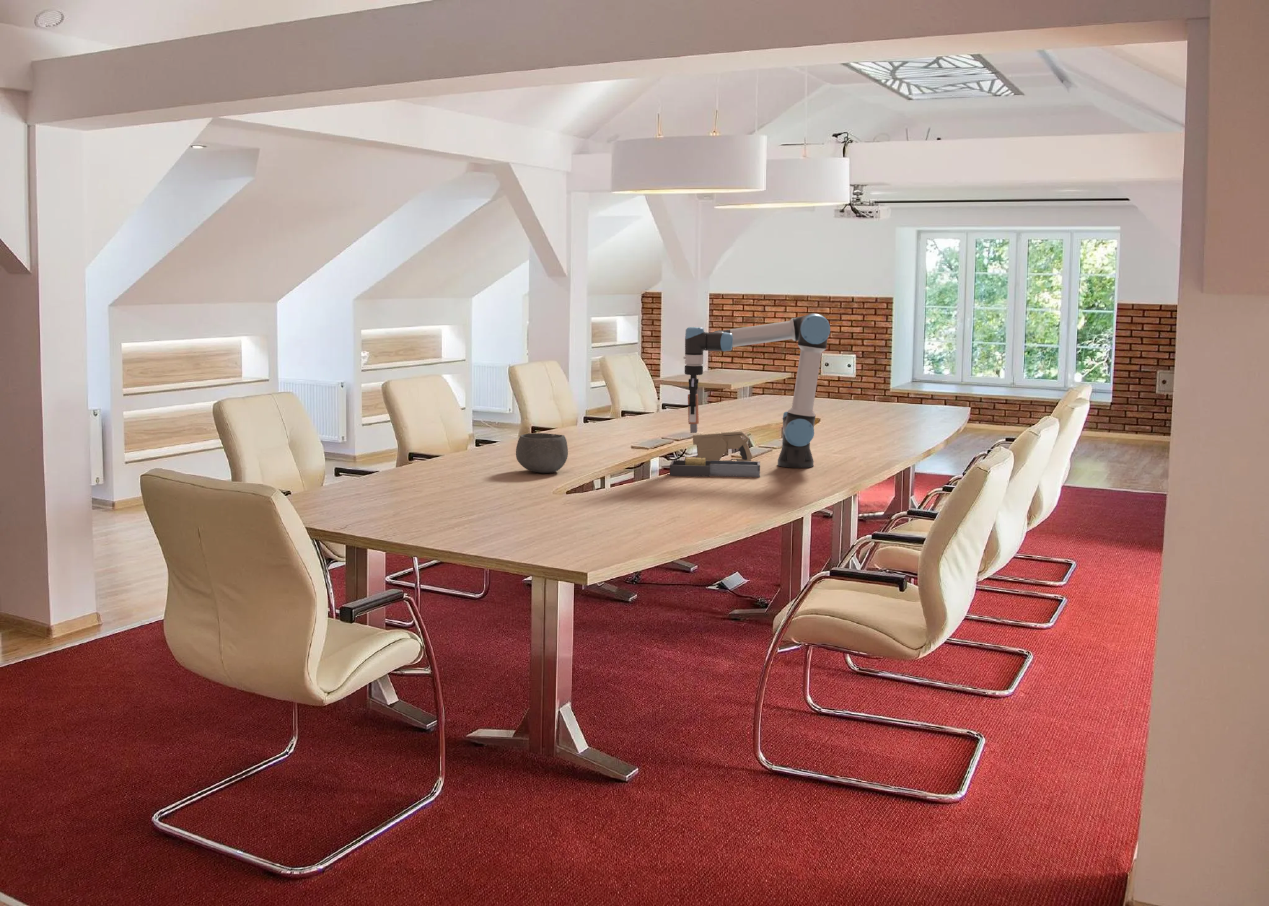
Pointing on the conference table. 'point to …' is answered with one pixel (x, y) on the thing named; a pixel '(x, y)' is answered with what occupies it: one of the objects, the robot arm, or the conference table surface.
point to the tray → (689, 469)
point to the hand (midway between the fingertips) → (692, 421)
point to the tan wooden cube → (690, 461)
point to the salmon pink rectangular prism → (694, 424)
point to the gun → (721, 445)
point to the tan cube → (700, 461)
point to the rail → (735, 468)
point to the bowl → (542, 452)
